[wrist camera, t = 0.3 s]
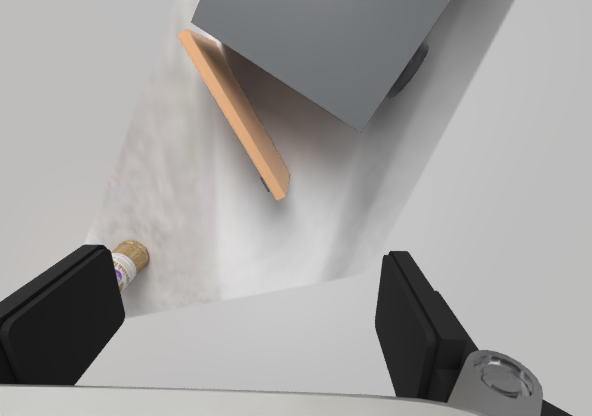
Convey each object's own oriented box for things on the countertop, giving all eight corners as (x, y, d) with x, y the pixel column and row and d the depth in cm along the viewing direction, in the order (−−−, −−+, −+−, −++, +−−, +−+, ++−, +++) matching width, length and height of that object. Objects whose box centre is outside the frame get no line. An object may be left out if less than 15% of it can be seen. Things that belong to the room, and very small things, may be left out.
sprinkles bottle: (156, 253, 42) (92, 325, 30) (138, 273, 43) (70, 349, 31) (128, 232, 41) (49, 297, 29) (110, 253, 42) (28, 324, 30)
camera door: (215, 41, 32) (186, 28, 24) (290, 173, 37) (285, 196, 29) (201, 51, 32) (168, 41, 25) (277, 180, 37) (269, 204, 30)
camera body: (284, -102, 28) (272, -194, 18) (434, 13, 30) (488, -17, 21) (221, 38, 32) (187, 20, 23) (358, 127, 35) (375, 142, 26)
